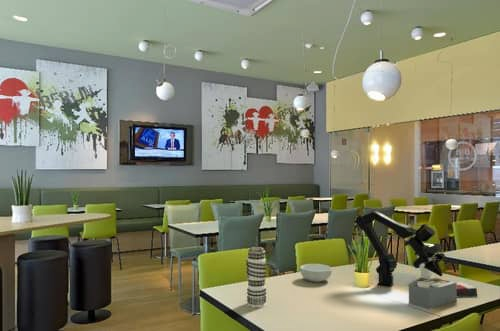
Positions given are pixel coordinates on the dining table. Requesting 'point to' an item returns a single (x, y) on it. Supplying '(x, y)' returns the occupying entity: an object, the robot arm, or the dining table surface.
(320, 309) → the dining table surface
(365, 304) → the dining table surface
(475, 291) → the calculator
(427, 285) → the grey button
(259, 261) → the decorative candle
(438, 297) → the button console
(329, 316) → the dining table surface
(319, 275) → the cereal bowl
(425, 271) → the cup
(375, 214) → the robot arm
